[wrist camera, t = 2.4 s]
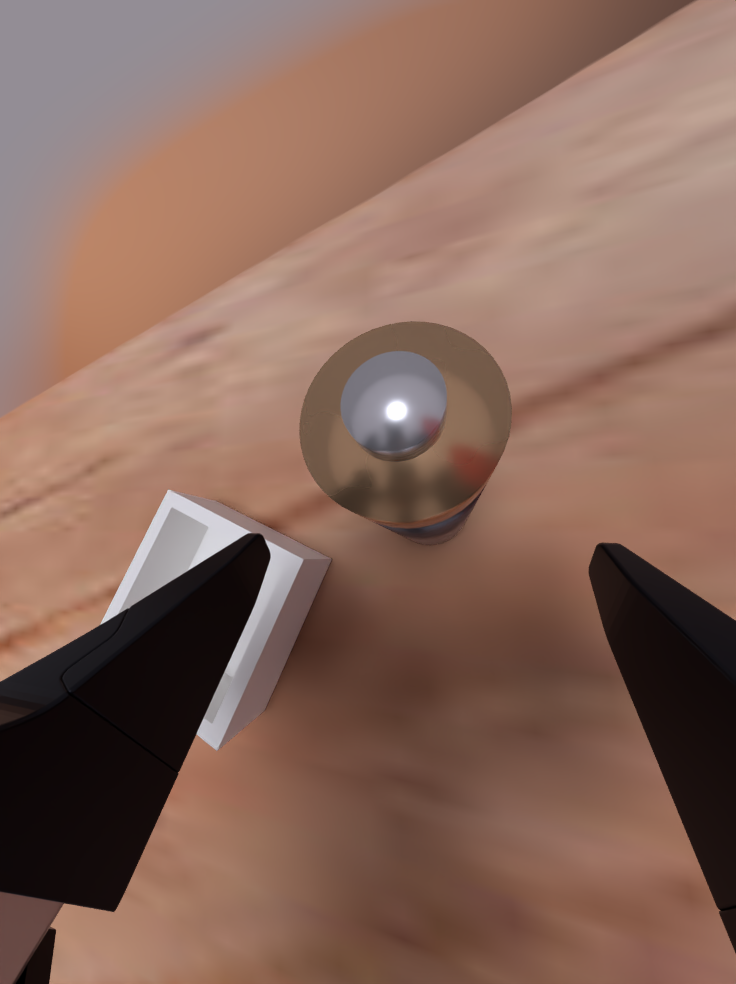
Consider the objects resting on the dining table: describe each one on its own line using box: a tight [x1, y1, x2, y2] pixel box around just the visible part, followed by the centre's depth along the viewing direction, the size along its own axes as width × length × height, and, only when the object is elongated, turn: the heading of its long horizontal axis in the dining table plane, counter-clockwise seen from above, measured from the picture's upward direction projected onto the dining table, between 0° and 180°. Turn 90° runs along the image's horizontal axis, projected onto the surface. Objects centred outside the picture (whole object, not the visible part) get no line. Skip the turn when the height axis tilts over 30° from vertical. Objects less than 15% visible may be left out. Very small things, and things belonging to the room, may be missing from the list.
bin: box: [100, 489, 332, 751], centre depth 18 cm, size 10×10×4 cm
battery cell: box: [300, 322, 512, 545], centre depth 12 cm, size 4×4×13 cm
